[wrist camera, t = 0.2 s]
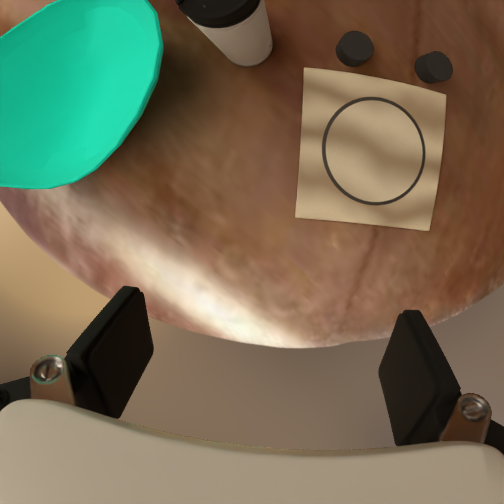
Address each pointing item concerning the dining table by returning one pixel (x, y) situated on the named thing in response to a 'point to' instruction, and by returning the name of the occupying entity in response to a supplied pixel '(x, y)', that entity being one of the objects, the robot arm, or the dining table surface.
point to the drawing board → (369, 150)
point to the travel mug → (233, 27)
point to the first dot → (354, 48)
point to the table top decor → (74, 87)
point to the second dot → (433, 67)
